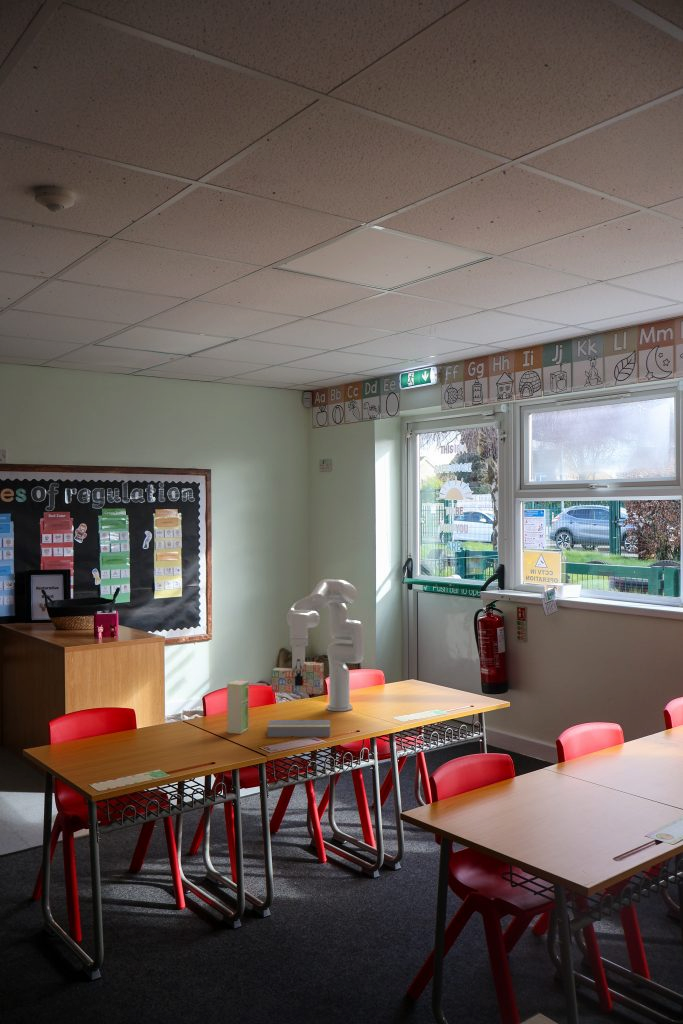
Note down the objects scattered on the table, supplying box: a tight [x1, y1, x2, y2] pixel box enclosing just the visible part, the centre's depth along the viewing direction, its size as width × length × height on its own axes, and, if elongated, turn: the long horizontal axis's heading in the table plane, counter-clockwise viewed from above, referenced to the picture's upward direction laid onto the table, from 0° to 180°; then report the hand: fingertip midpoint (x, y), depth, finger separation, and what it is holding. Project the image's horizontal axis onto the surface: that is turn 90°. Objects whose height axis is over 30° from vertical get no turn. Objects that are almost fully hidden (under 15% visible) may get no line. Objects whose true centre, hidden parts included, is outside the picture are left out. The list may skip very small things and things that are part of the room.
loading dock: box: [266, 719, 331, 738], centre depth 362 cm, size 12×26×4 cm, turn 90°
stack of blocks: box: [271, 661, 325, 695], centre depth 362 cm, size 21×6×12 cm, turn 78°
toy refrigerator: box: [226, 679, 250, 735], centre depth 365 cm, size 8×7×21 cm
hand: (299, 683), depth 362 cm, fingers closed on stack of blocks, 7 cm apart
